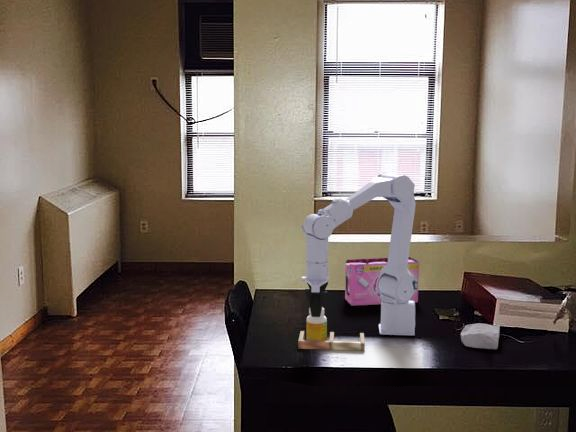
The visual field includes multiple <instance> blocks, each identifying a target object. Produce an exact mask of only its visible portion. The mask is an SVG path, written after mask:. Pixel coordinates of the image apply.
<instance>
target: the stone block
mask: <svg viewBox="0 0 576 432" xmlns="http://www.w3.org/2000/svg"><path fill="white" fill-rule="evenodd" d="M500 327H501V326H499V325H497V326H496V325H492V324H488V323H481V322H479V323H472V324H471V323H470V324H466V325H465V326H464V328H463V329H462V330H461V332H460V340H461V343H462V344H463V345H464V346H465V347H469V348H475V349H486V350H487V349H488V350H497V349H498V347H499V341H500V340H499V339H500V333H501V332H500V330H501V328H500Z"/></svg>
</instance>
